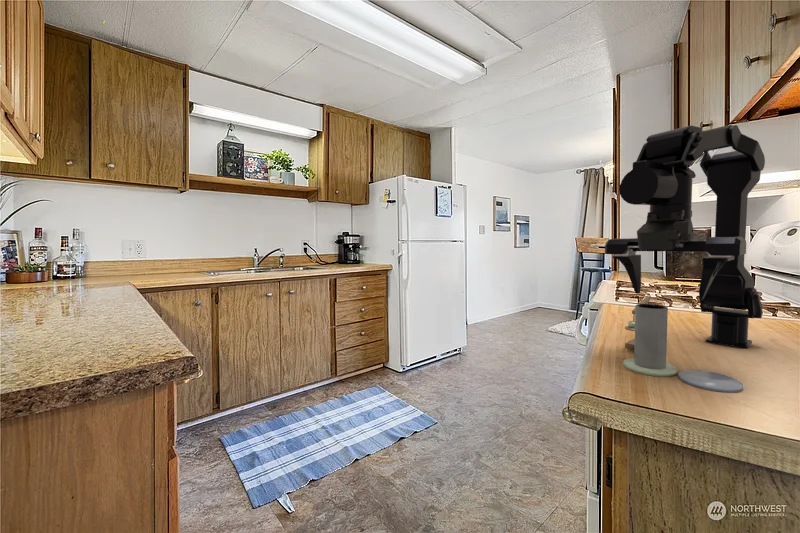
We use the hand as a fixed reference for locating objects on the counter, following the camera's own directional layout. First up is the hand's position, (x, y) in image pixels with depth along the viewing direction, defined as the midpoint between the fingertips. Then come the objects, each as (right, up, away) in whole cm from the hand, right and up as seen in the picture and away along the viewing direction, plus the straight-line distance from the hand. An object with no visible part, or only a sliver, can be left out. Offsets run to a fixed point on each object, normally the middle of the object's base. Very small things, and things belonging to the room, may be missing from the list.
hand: (667, 295), depth 62 cm
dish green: (-4, -13, -1) cm, 13 cm away
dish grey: (+1, -13, -7) cm, 15 cm away
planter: (-4, -12, -1) cm, 13 cm away
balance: (+3, -12, +12) cm, 17 cm away
